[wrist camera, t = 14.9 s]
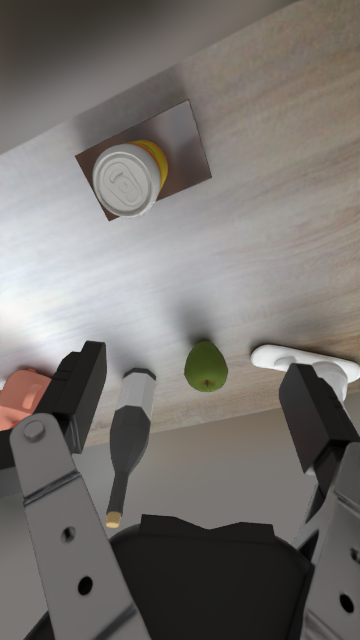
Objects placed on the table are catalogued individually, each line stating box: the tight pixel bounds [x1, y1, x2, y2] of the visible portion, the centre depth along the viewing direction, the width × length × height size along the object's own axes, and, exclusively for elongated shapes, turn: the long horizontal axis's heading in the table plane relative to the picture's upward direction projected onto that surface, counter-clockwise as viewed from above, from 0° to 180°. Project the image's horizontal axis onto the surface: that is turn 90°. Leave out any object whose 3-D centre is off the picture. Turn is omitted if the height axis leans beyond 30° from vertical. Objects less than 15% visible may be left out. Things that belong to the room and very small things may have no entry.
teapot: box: [0, 368, 52, 431], centre depth 64 cm, size 17×16×13 cm
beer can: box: [93, 140, 168, 218], centre depth 31 cm, size 6×6×15 cm
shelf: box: [75, 99, 212, 221], centre depth 39 cm, size 16×9×5 cm, turn 111°
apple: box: [184, 341, 228, 392], centre depth 56 cm, size 9×8×12 cm
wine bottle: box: [106, 368, 156, 528], centre depth 55 cm, size 8×8×30 cm
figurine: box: [251, 344, 360, 419], centre depth 56 cm, size 26×13×17 cm, turn 76°
